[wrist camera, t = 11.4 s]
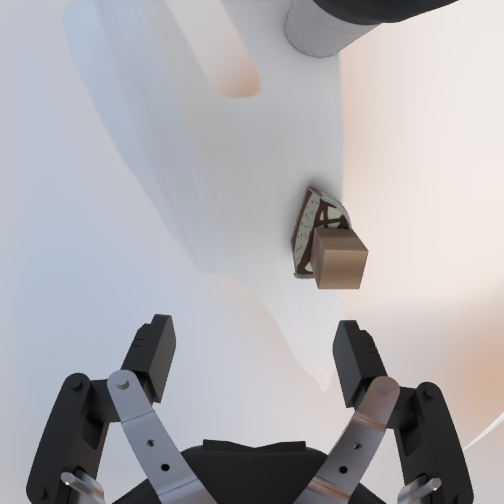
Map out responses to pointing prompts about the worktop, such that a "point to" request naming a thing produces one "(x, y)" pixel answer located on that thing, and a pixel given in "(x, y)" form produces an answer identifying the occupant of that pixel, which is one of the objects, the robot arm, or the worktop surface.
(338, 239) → the walnut block
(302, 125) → the worktop surface
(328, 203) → the food container
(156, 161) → the worktop surface
